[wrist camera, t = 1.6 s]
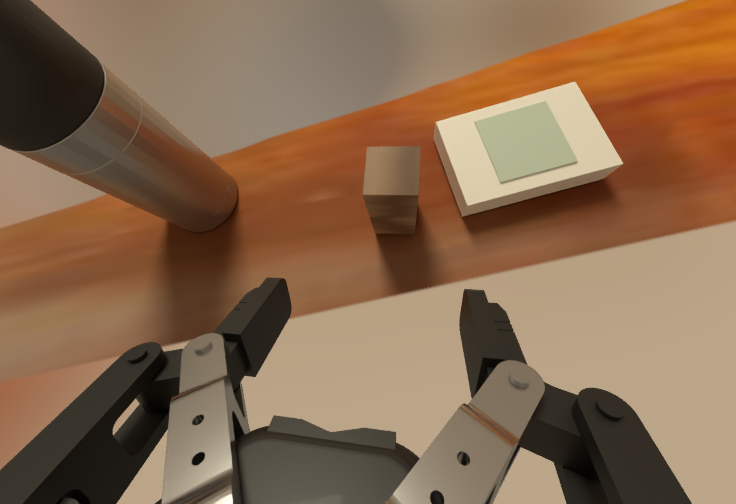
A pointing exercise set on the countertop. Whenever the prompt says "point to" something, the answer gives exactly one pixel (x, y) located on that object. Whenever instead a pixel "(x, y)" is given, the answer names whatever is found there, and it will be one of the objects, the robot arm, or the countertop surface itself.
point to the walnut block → (392, 188)
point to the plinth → (523, 149)
